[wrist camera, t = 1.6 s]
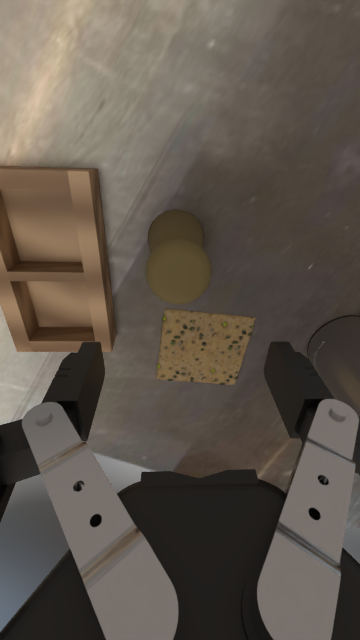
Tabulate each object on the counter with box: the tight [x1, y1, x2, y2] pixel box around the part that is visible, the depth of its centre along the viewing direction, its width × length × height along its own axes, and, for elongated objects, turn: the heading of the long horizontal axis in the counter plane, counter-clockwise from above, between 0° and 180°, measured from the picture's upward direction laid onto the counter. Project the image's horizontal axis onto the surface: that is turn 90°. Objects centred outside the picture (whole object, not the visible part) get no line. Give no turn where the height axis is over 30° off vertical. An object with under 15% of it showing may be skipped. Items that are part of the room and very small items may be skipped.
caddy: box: [0, 166, 116, 352], centre depth 29 cm, size 19×11×4 cm, turn 178°
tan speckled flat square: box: [156, 309, 255, 385], centre depth 38 cm, size 12×12×1 cm
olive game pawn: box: [146, 210, 212, 304], centre depth 25 cm, size 6×6×11 cm
